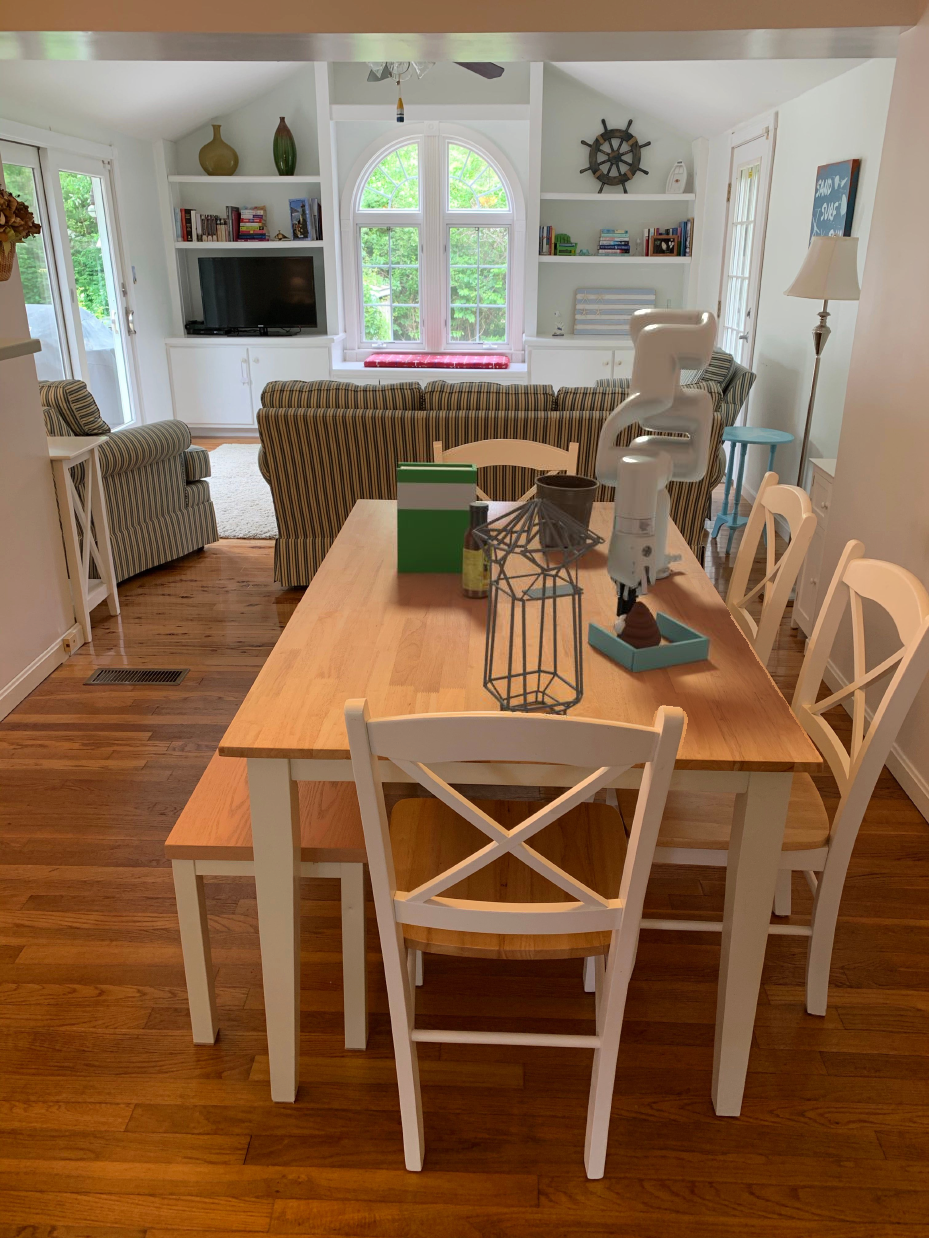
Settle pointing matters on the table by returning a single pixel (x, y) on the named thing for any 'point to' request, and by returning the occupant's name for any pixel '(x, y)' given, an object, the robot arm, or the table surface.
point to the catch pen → (683, 649)
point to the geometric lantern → (571, 528)
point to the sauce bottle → (476, 555)
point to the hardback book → (433, 515)
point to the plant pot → (567, 502)
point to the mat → (550, 591)
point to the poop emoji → (638, 627)
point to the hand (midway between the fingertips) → (625, 616)
